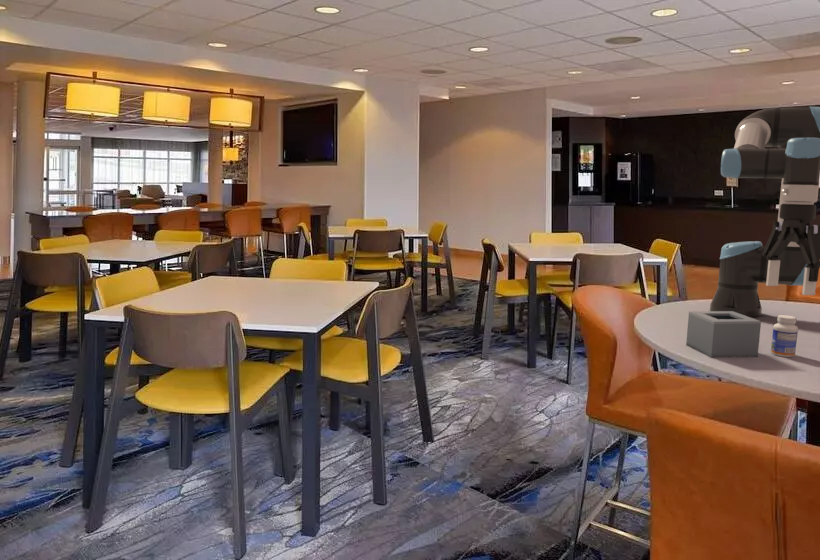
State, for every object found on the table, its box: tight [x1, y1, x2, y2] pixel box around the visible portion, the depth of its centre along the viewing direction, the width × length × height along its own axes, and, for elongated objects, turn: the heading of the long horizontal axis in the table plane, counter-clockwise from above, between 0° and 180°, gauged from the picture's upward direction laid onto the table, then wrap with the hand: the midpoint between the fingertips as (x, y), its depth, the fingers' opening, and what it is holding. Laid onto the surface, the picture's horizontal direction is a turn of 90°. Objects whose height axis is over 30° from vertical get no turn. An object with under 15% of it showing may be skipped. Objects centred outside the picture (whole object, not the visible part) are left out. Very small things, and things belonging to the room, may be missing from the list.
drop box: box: [685, 310, 762, 359], centre depth 167 cm, size 12×12×9 cm
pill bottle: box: [770, 314, 799, 358], centre depth 164 cm, size 5×5×10 cm
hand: (789, 290), depth 162 cm, fingers open, 13 cm apart
